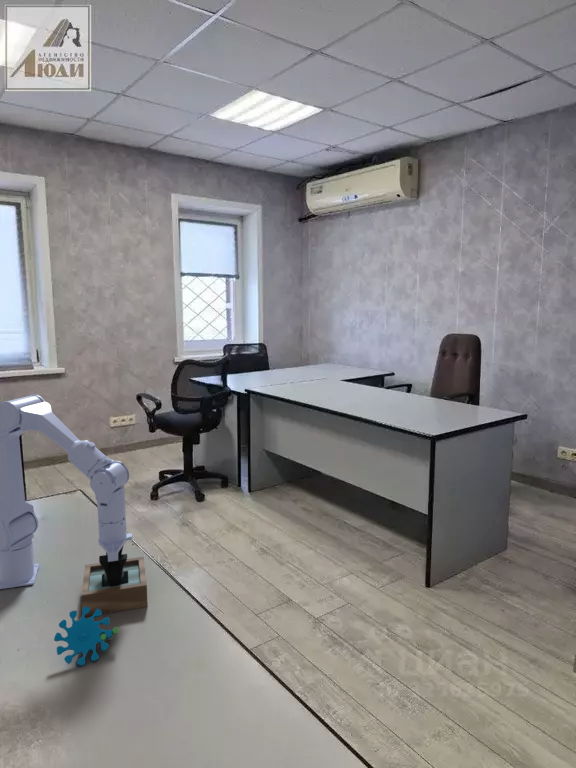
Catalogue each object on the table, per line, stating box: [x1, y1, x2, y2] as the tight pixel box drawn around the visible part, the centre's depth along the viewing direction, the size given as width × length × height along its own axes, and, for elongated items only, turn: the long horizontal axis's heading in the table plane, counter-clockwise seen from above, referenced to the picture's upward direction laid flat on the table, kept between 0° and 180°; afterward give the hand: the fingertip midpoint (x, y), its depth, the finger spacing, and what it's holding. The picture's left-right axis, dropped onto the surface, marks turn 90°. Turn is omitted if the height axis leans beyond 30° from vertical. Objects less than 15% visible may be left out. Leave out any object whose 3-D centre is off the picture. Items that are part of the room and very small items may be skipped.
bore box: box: [81, 556, 148, 618], centre depth 115 cm, size 13×13×5 cm
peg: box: [104, 570, 124, 587], centre depth 115 cm, size 4×4×7 cm
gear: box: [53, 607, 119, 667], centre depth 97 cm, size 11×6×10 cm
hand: (114, 576), depth 115 cm, fingers open, 7 cm apart
